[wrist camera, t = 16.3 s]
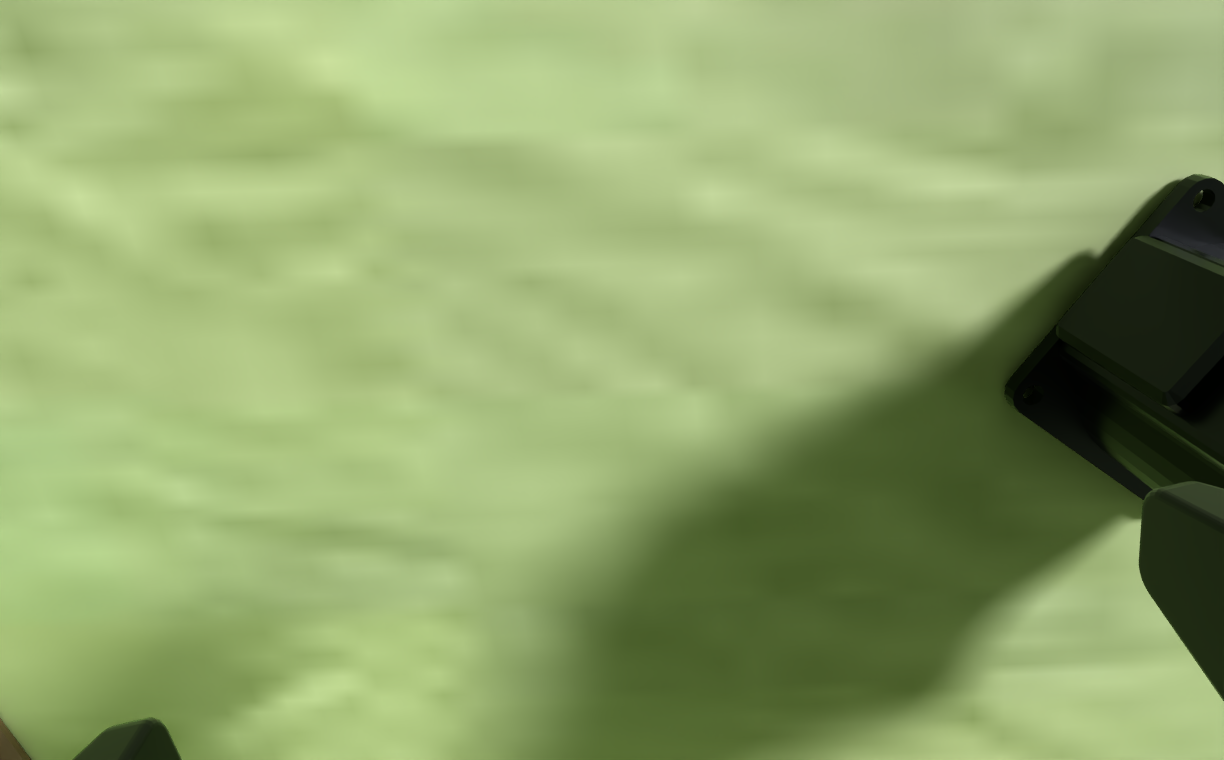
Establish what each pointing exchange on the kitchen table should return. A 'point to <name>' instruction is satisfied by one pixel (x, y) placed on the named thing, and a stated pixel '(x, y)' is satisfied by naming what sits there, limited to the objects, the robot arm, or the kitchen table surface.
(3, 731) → the board
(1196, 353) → the robot arm
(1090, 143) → the kitchen table surface
